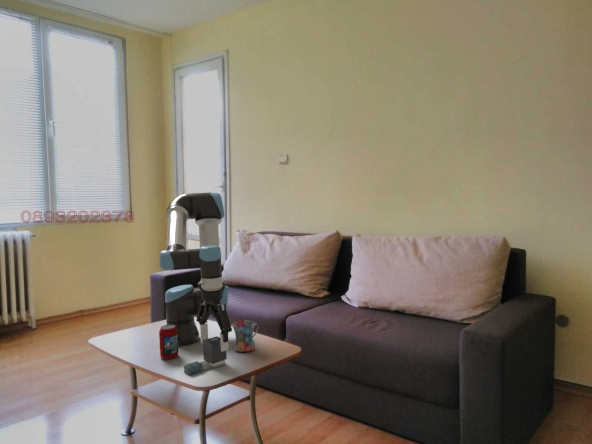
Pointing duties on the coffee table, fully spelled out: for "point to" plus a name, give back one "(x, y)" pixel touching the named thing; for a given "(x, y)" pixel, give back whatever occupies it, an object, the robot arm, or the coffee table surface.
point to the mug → (244, 335)
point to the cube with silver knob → (213, 350)
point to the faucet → (201, 366)
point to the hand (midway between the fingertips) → (214, 345)
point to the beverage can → (168, 342)
